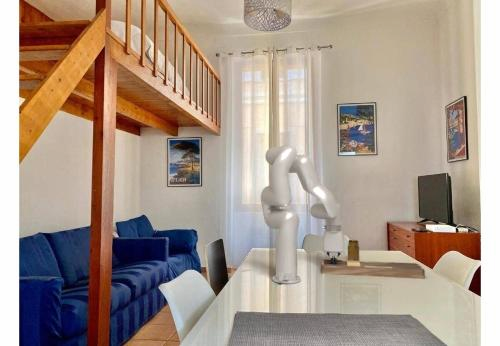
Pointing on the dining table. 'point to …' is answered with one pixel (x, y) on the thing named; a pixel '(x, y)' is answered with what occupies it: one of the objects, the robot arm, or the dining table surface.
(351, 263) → the block
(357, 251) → the condiment
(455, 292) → the dining table surface
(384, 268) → the box
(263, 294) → the dining table surface
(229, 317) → the dining table surface
